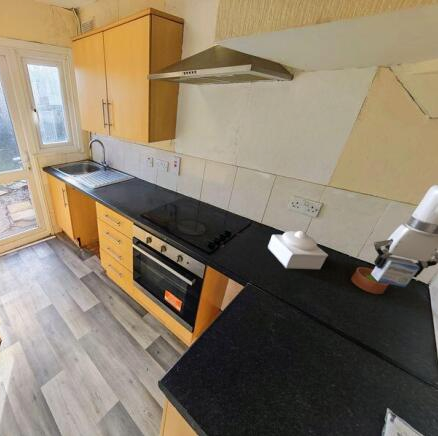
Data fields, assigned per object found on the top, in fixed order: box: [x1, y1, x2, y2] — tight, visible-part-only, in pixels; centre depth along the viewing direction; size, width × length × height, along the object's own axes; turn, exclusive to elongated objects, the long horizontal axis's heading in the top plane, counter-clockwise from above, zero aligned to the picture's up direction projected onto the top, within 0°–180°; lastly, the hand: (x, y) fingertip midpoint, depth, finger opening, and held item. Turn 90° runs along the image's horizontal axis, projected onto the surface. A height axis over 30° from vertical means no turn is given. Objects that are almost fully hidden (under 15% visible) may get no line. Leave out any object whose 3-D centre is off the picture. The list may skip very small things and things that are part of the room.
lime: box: [364, 275, 378, 283], centre depth 100 cm, size 5×5×5 cm
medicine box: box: [371, 255, 420, 288], centre depth 77 cm, size 8×4×9 cm, turn 72°
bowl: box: [350, 266, 391, 295], centre depth 100 cm, size 11×11×6 cm
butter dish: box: [267, 230, 329, 270], centre depth 114 cm, size 18×18×16 cm
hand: (394, 270), depth 76 cm, fingers closed on medicine box, 8 cm apart
